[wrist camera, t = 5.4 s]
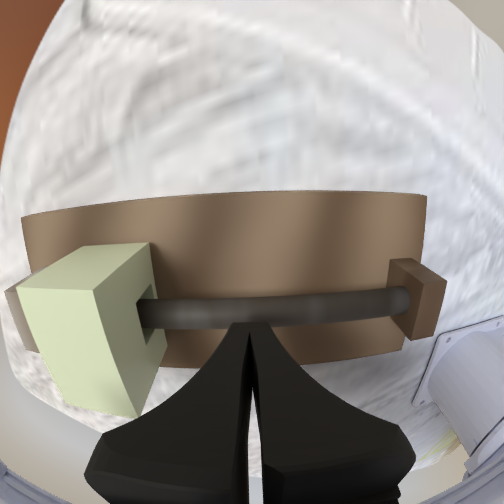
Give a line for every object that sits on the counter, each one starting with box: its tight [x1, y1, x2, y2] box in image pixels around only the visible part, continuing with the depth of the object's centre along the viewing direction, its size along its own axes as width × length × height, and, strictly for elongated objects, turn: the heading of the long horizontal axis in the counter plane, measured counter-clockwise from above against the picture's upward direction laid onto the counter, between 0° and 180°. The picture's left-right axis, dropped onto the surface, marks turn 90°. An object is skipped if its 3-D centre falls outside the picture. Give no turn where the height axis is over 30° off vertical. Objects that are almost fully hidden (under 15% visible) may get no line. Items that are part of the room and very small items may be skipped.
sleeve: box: [16, 242, 168, 419], centre depth 11 cm, size 4×6×6 cm, turn 2°
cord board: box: [4, 190, 447, 368], centre depth 13 cm, size 24×10×5 cm, turn 92°
